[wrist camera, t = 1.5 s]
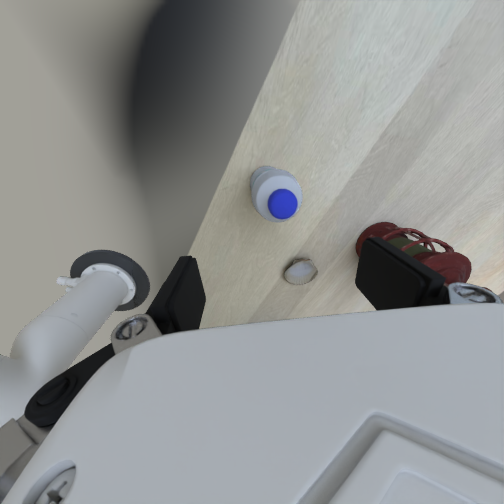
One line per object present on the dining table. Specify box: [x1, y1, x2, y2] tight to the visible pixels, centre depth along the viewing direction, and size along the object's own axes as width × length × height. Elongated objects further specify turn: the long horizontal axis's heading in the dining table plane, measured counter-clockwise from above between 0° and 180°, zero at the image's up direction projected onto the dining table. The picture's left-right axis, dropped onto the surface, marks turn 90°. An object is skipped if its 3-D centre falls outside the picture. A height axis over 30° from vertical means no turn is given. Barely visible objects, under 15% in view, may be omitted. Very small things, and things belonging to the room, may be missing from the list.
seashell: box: [284, 259, 318, 285], centre depth 48 cm, size 8×3×8 cm
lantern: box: [356, 222, 492, 292], centre depth 33 cm, size 12×12×30 cm
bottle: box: [250, 166, 302, 222], centre depth 30 cm, size 7×7×20 cm
